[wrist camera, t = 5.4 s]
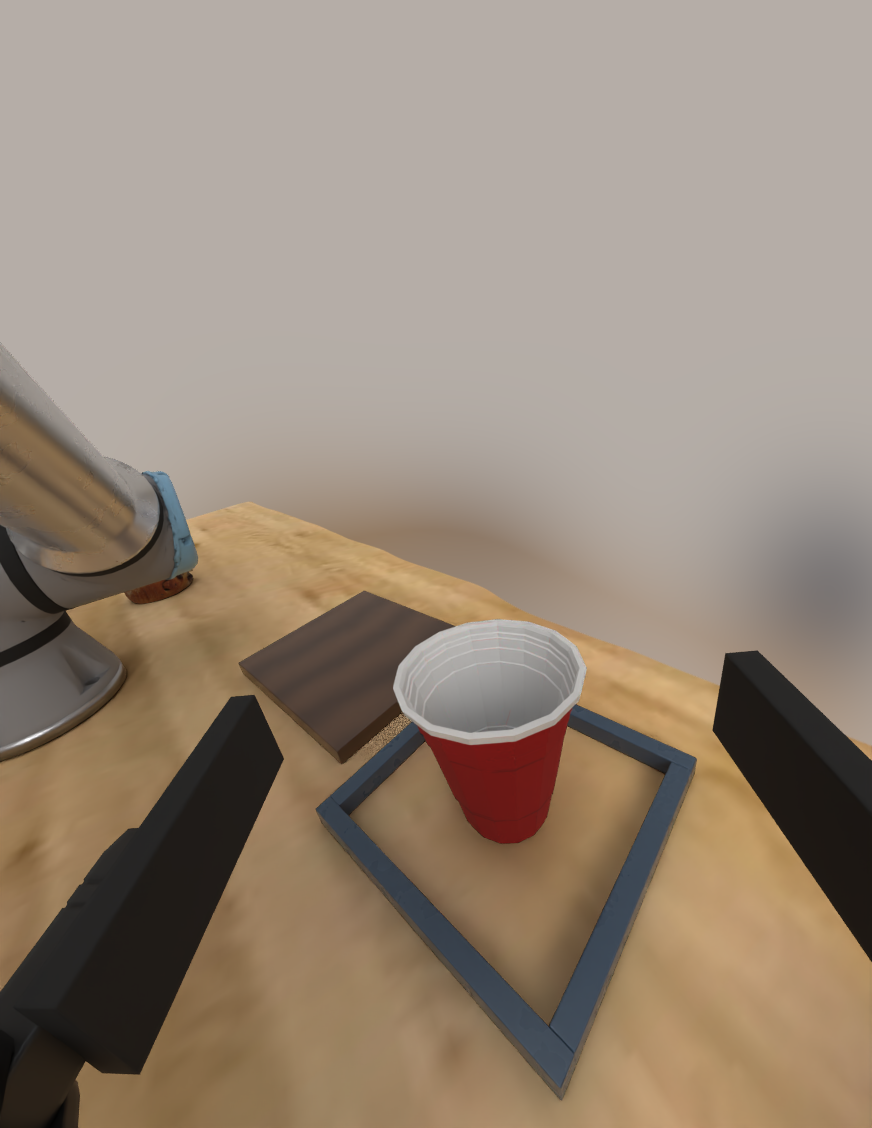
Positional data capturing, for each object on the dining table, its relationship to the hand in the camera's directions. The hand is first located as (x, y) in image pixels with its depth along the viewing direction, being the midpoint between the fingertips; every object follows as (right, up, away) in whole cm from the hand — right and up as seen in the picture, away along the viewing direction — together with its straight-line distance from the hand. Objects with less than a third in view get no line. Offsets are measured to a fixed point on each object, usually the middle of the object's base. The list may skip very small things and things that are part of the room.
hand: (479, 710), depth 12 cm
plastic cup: (+4, -12, +17) cm, 21 cm away
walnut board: (-10, -6, +33) cm, 35 cm away
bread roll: (-49, -1, +61) cm, 79 cm away
